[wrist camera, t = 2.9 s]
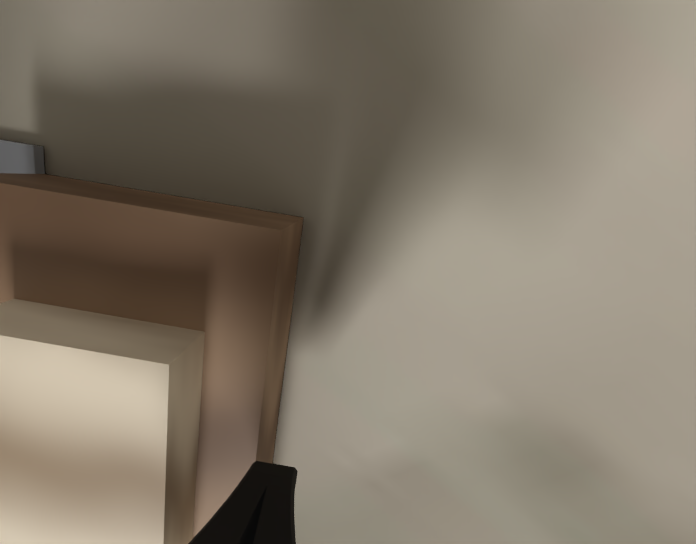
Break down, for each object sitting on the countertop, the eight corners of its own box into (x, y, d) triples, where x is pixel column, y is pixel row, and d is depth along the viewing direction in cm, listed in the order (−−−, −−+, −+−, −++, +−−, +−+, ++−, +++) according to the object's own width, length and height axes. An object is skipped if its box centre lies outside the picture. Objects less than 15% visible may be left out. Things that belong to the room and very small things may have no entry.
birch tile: (191, 551, 13) (161, 615, 11) (34, 523, 13) (-23, 581, 11) (204, 331, 11) (169, 364, 9) (14, 298, 11) (-62, 324, 9)
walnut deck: (262, 539, 17) (237, 626, 14) (64, 503, 18) (-8, 581, 14) (303, 217, 13) (281, 230, 10) (44, 173, 13) (-65, 172, 10)
